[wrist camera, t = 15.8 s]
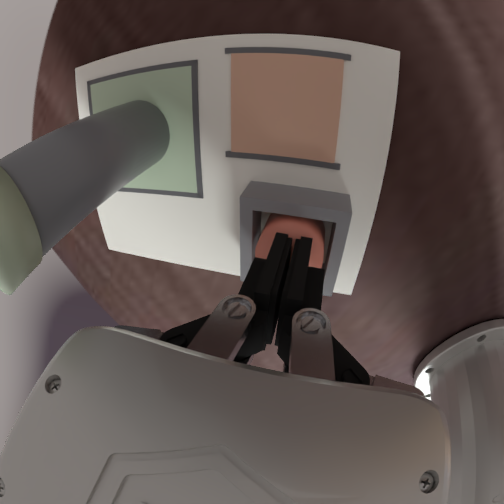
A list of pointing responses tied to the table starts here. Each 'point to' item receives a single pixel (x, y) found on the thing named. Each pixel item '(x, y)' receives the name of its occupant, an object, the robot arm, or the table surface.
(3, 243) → the cylinder
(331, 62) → the picture board
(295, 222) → the button
